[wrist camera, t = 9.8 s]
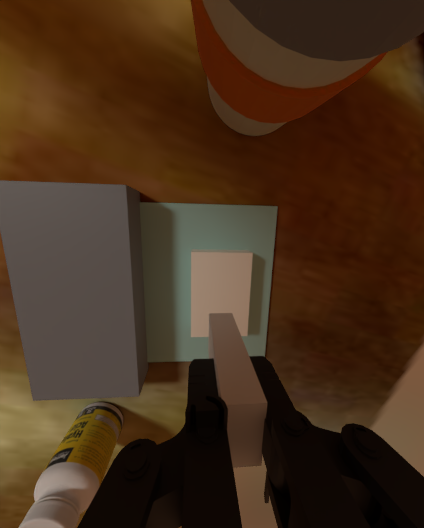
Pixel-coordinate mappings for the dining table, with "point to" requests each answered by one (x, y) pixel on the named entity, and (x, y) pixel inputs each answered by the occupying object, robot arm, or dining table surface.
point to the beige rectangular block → (220, 287)
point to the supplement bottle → (75, 468)
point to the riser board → (77, 286)
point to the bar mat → (179, 270)
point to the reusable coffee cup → (293, 53)
